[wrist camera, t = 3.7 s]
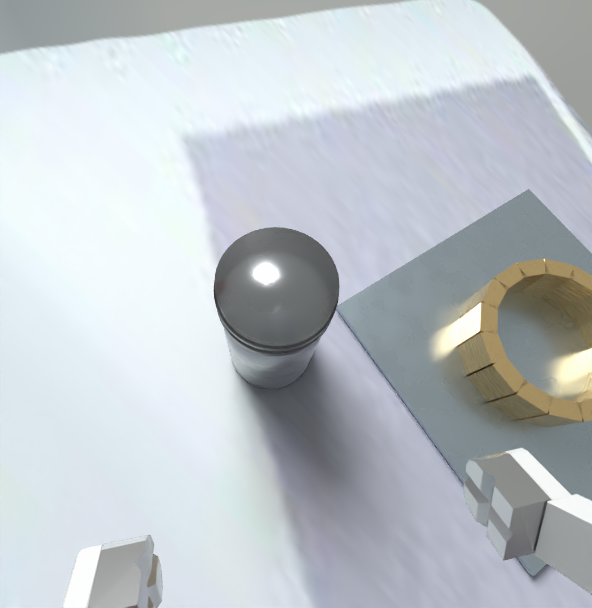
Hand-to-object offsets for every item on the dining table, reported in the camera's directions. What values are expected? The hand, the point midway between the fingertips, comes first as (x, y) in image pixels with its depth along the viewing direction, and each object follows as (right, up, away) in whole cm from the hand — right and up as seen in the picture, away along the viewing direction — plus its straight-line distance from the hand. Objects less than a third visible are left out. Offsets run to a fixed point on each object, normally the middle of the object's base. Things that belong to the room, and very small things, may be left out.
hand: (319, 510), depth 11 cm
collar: (+14, +2, +17) cm, 22 cm away
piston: (-2, +2, +16) cm, 16 cm away
